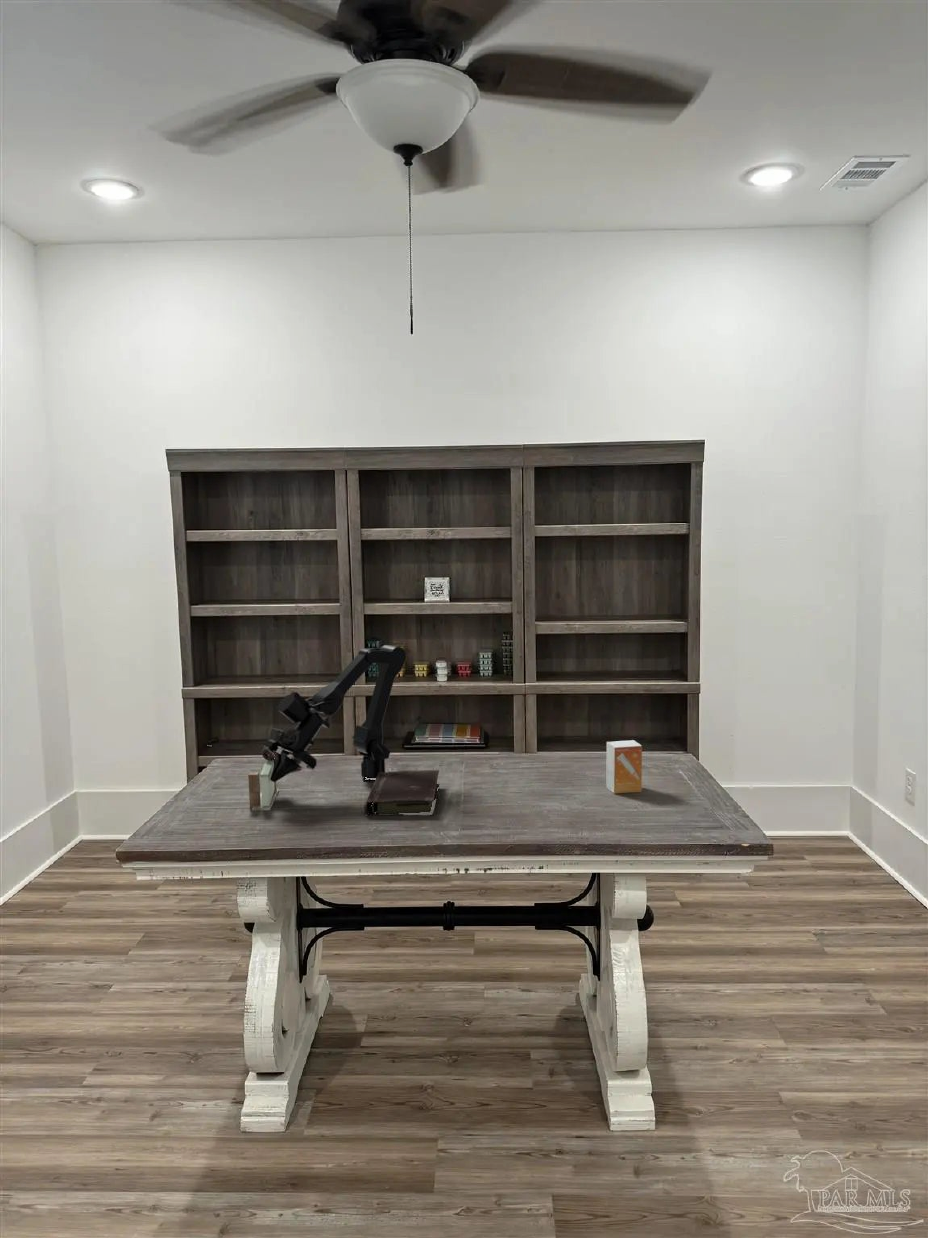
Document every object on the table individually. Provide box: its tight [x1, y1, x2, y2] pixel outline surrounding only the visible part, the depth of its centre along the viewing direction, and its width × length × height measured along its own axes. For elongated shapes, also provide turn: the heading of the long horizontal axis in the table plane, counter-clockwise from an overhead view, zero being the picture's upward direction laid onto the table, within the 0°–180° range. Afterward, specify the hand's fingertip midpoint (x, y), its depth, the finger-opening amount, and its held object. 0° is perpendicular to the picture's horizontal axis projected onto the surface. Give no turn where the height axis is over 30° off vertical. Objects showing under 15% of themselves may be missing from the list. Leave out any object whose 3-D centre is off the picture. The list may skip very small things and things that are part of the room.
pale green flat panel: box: [259, 760, 275, 806], centre depth 233 cm, size 13×2×8 cm, turn 6°
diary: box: [363, 769, 440, 816], centre depth 233 cm, size 19×25×5 cm
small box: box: [605, 739, 643, 795], centre depth 238 cm, size 8×6×13 cm
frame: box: [247, 771, 280, 812], centre depth 235 cm, size 6×17×9 cm, turn 3°
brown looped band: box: [260, 747, 275, 764], centre depth 267 cm, size 12×10×8 cm
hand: (272, 781), depth 232 cm, fingers closed
